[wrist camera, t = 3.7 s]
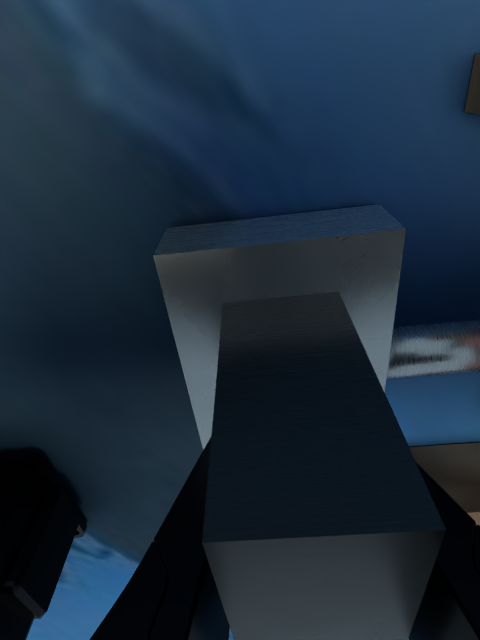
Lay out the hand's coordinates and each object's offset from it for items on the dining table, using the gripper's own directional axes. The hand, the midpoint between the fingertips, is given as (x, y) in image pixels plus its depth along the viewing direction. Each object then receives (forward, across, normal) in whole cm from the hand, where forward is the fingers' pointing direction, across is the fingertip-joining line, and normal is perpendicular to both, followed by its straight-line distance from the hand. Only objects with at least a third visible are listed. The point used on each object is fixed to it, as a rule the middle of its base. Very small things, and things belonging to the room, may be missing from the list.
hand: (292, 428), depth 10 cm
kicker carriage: (+4, -3, 0) cm, 5 cm away
